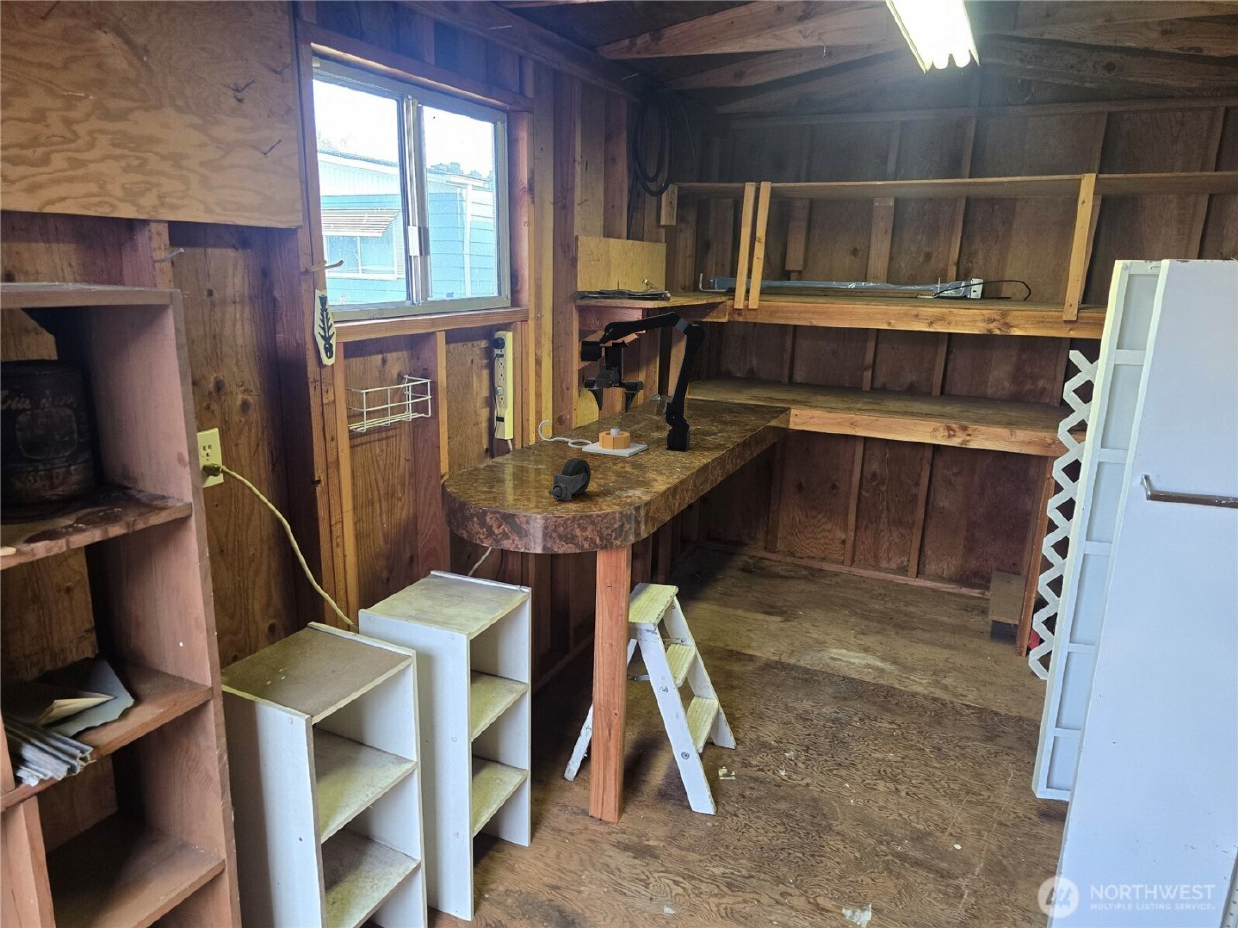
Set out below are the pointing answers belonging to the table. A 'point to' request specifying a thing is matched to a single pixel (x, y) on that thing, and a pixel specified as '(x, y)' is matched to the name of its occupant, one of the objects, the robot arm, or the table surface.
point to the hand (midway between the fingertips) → (613, 411)
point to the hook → (562, 438)
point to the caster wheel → (571, 479)
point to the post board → (621, 452)
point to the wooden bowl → (614, 440)
